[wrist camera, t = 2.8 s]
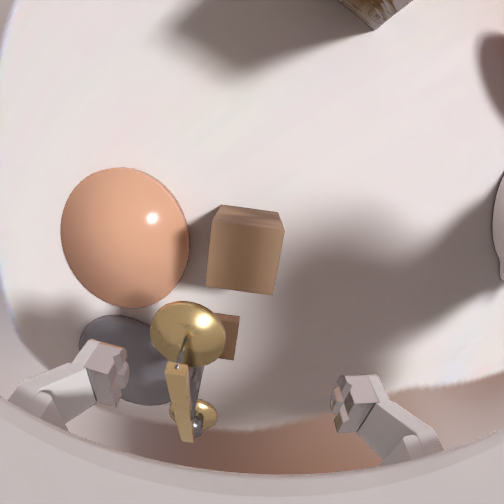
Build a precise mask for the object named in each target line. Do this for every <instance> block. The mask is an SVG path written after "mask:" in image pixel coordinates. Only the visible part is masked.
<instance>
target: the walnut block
mask: <svg viewBox="0 0 504 504" xmlns="http://www.w3.org/2000/svg"><path fill="white" fill-rule="evenodd" d="M284 232H285V230H284V228H283V225H282V222H281V219H280V217H279V214H278V212H271V211H264V210H257V209H250V208H243V207H236V206H228V205H221V206H220V208H219V210H218V211H217V213H216V214H215V216H214V218H213V219H212V224H211V233H210V243H209V253H208V264H207V275H206V286H208V287H215V288H222V289H229V290H236V291H244V292H251V293H259V294H267V295H273V290H274V285H275V280H276V274H277V269H278V264H279V259H280V253H281V248H282V243H283V237H284Z"/></svg>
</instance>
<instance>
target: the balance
mask: <svg viewBox="0 0 504 504" xmlns="http://www.w3.org/2000/svg"><path fill="white" fill-rule="evenodd" d="M239 317H240V316H233V315H225V314H218V313H213V312H212V311H211V310H209V309H208V308H206V307H204V306H202V305H200V304H197V303H194V302H189V301H176V302H172V303H169V304H166V305H165V306H163V307H162V308H160V309H159V310H158V312H157V313H156V315H155V316H154V318H153V320H152V322H151V325H150V336H151V340H152V342H153V344H154V346H155V347H156V349H157V350H158V351H159V352H160V353H161V354H162V355H163V356H164V357H165V358H167V359H168V360H170V361H172V362H169V361H168V362H167V366H166V369H165V377H166V382H167V386H168V391H169V395H170V399H171V405H170V409H169V414H170V416H171V418H172V419H173V420H174V421H175V422H176V423H177V427H178V431H179V434H180V438H181V441H184V442H189V443H194V439H195V437H198V436H200V435H201V434H202V429H207V428H210V427H212V426H213V425H214V424H215V423H216V421H217V411H216V410H215V408H214V407H213V406H212V405H211V404H209V403H207V402H205V401H203V400H201V399H197V398H198V393H199V388H200V383H201V379H202V374H203V369H204V366H205V365H208V364H210V363H212V362H214V361H215V360H216V359H218V358H220V359H228V360H234V354H235V347H236V340H237V333H238V326H239Z"/></svg>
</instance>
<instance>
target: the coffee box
mask: <svg viewBox="0 0 504 504" xmlns="http://www.w3.org/2000/svg"><path fill="white" fill-rule="evenodd" d="M339 1H340V2H341V3H342V4H344V5H345V6H346V7H347V8H349V9H350V10H351V11H352V12H354V13H355V14H356V15H357V16H358V17H359V18H361V19H362V20H363V21H364V22H365V23H366V24H367V25H368V26H370V27H371V28H372V29H373V30H376V29H377V28H379V27H380V26H381V25H382V24H383V23H385V22H386V21H387V20H388V19H389V18H391V17H392V16H393V15H395V14H396V13H397V12H398V11H400V10H401V9H402V8H404V7H405V6H406V5H407V4H409V3H410V2H411V1H413V0H339Z"/></svg>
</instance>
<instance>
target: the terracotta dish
mask: <svg viewBox="0 0 504 504" xmlns="http://www.w3.org/2000/svg"><path fill="white" fill-rule="evenodd" d="M61 240H62V246H63V250H64V254H65V256H66V259H67V262H68V264H69V266H70V268H71V270H72V271H73V273H74V275H75V276H76V277H77V279H78V280H79V281H80V282H81V283H82V285H83V286H84V287H85V288H86V289H87V290H89V291H90V292H91V293H92V294H94V295H95V296H96V297H98V298H100V299H101V300H103V301H105V302H107V303H110V304H112V305H116V306H119V307H125V308H140V307H145V306H149V305H152V304H154V303H157V302H158V301H160V300H162V299H163V298H165V297H166V296H167V295H168V294H169V293H170V292H171V291H172V290H173V289H174V287H175V286H176V285H177V283H178V281H179V280H180V278H181V276H182V274H183V272H184V270H185V267H186V264H187V261H188V257H189V249H190V239H189V230H188V226H187V222H186V219H185V216H184V214H183V211H182V209H181V207H180V205H179V204H178V202H177V200H176V199H175V197H174V196H173V195H172V193H171V192H170V191H169V190H168V189H167V188H166V187H165V186H164V185H163V184H162V183H161V182H159V181H158V180H157V179H155V178H154V177H152V176H151V175H149V174H146V173H144V172H142V171H139V170H136V169H131V168H111V169H106V170H101V171H98V172H96V173H93V174H91V175H90V176H88V177H86V178H85V179H84V180H82V181H81V182H80V183H79V184H78V185H77V186H76V187H75V188H74V190H73V191H72V193H71V194H70V196H69V198H68V200H67V202H66V204H65V207H64V210H63V214H62V219H61Z"/></svg>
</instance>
